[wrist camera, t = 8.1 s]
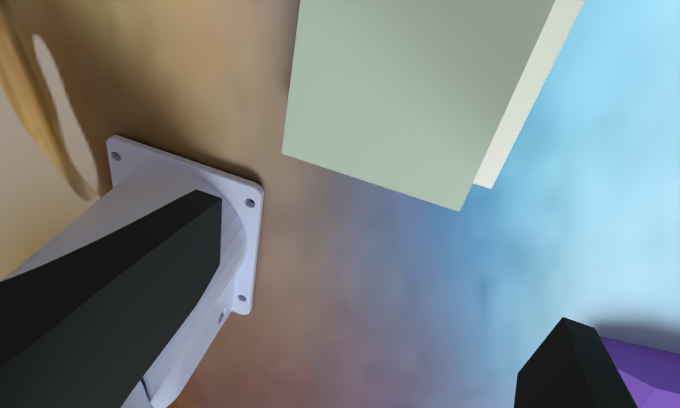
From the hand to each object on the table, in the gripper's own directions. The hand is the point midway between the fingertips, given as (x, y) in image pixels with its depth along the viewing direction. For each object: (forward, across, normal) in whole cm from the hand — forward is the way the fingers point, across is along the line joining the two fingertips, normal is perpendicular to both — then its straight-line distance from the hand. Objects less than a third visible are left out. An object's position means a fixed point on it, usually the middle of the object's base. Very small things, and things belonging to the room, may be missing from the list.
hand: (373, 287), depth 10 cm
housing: (+8, +1, -3) cm, 9 cm away
